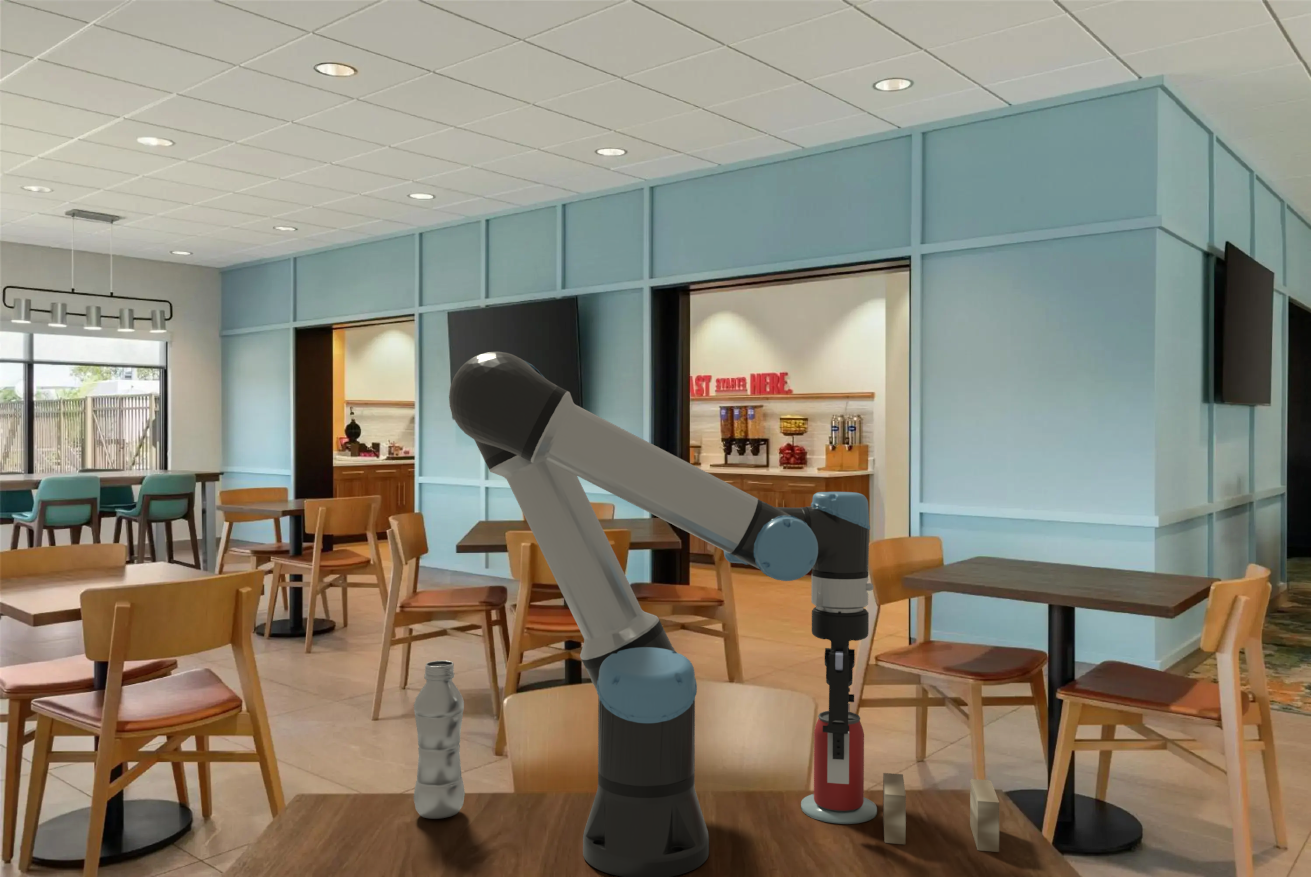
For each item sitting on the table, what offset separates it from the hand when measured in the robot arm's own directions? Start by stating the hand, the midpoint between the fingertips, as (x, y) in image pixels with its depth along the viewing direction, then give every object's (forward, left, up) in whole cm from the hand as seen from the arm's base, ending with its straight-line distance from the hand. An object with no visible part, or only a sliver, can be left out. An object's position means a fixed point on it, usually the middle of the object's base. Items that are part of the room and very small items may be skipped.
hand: (838, 765), depth 137 cm
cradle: (+12, -6, -6) cm, 15 cm away
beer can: (0, 0, -6) cm, 6 cm away
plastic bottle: (-52, -13, -6) cm, 53 cm away
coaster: (0, 0, -6) cm, 6 cm away
